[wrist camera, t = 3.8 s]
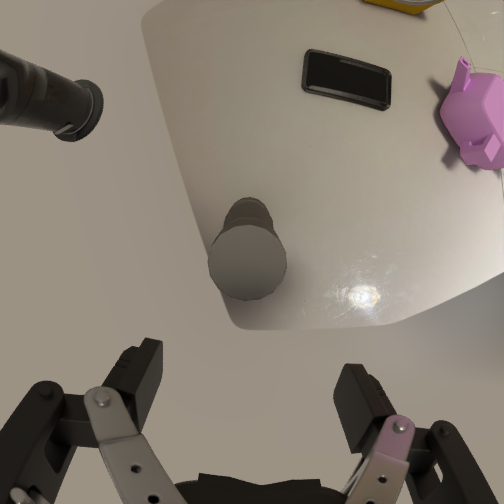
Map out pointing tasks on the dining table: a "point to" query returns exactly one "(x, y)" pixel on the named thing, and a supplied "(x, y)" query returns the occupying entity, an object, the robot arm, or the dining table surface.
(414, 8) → the alarm clock
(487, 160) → the teapot
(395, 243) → the dining table surface
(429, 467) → the robot arm
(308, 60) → the phone
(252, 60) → the dining table surface
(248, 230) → the candle holder
